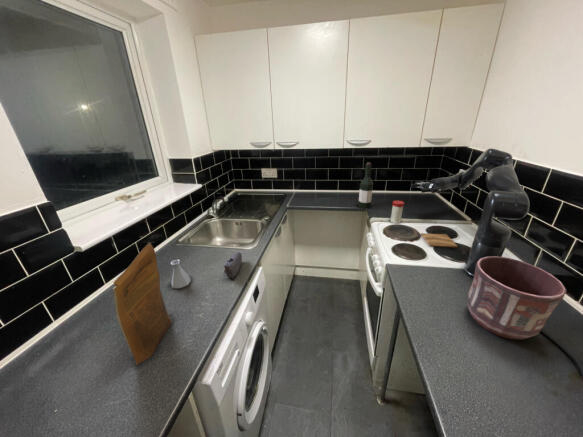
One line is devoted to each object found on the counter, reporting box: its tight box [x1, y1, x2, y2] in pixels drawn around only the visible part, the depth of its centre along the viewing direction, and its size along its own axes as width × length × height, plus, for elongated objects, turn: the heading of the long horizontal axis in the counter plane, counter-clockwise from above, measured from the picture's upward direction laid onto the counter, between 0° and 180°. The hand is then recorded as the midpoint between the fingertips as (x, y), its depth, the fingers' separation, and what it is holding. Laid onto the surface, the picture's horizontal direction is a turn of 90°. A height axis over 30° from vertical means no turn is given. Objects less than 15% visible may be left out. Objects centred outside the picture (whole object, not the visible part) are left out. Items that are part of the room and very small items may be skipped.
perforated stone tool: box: [223, 251, 243, 279], centre depth 96 cm, size 15×5×7 cm, turn 172°
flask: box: [170, 259, 192, 289], centre depth 89 cm, size 7×7×10 cm
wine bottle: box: [357, 162, 374, 210], centre depth 153 cm, size 8×8×30 cm
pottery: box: [466, 256, 567, 341], centre depth 65 cm, size 18×18×18 cm
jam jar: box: [389, 205, 404, 224], centre depth 133 cm, size 6×6×12 cm
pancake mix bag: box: [111, 242, 172, 366], centre depth 63 cm, size 7×19×28 cm, turn 179°
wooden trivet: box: [420, 232, 459, 249], centre depth 113 cm, size 12×12×1 cm
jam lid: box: [391, 200, 405, 208], centre depth 131 cm, size 6×6×2 cm
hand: (416, 188), depth 130 cm, fingers open, 8 cm apart
